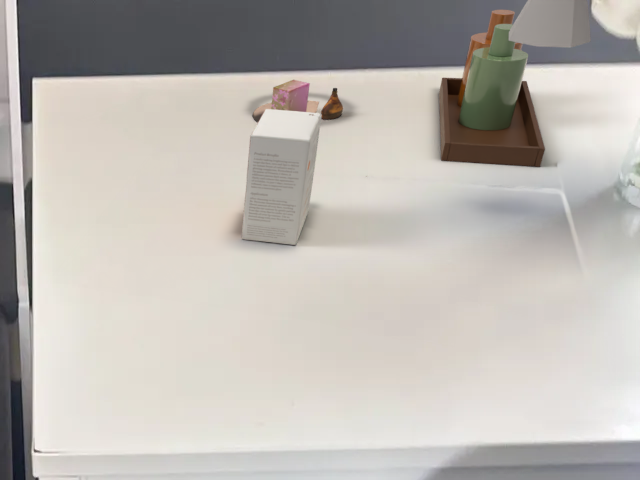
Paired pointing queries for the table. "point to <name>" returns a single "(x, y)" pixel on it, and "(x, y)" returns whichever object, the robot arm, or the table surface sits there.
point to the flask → (552, 23)
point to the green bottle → (493, 83)
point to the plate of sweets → (299, 101)
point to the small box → (280, 175)
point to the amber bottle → (485, 43)
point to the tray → (489, 133)
